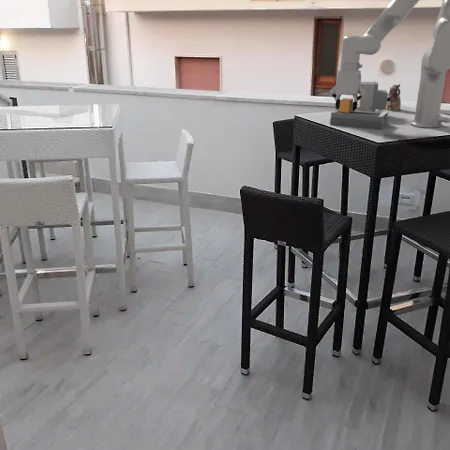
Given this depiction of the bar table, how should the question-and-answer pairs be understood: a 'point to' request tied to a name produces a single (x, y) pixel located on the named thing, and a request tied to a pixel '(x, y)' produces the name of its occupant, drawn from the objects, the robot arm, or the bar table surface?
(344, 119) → the switch panel
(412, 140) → the bar table surface
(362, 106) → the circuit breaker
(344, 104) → the toggle
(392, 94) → the figurine
